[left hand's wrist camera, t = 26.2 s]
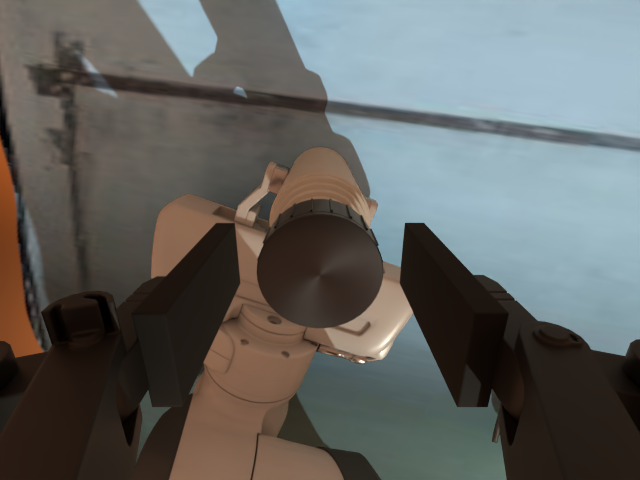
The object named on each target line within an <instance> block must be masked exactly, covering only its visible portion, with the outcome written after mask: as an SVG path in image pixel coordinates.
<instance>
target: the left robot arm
mask: <svg viewBox="0 0 640 480" xmlns="http://www.w3.org/2000/svg"><path fill="white" fill-rule="evenodd" d="M239 285H240V272H239V262H238V251H237V240H236V229H235V223H216V224H215V225H214V226H213V227H212V228H211V229H210V230H209V231H208V232H207V233H206V234H205V235H204V236H203V237H202V238H201V240H200V241H199V242H198V243H197V244H196V245H195V246H194V247H193V248H192V249H191V250H190V251H189V252H188V253H187V254H186V255H185V257H184V258H183V259H182V260H181V261H180V262H179V263H178V264H177V265H176V266H175V267H174V268H173V269H172V270H171V271H170V272H169V273H168V275H167V276H156V277H155V278H153V279H151V280H149V281H147V282H145V283H143V284H142V285H141V286H140V287H139V288H138V289H137V290H136V291H135V292H134V294H132V295H131V296H129V297H128V298H127V299H126V302H123V303H122V304H121V305H120V306H119V307H118V308H117V309H116V306H115V302H114V298H113V295H111V294H109V293H108V292H102V291H92V292H84V293H79V294H74V295H71V296H68V297H65V298H63V299H60V300H58V301H56V302H54V303H52V304H50V305H48V306H47V307H46V308H45V309H44V310H43V311H42V312H41V313H42V316H43V319H44V322H45V325H46V328H47V331H48V334H49V337H50V340H51V343H52V346H51V348H50V349H49V351H48V352H43V353H38V354H33V355H28V356H23V357H17V358H15V356H14V353H13V351H12V348H11V346H10V344H8V343H6V342H5V341H0V480H133V478H134V471H135V464H136V458H137V451H138V444H139V438H140V431H141V424H142V413H141V408H140V404H139V403H140V402H141V400H142V399H143V397H144V395H145V394H146V392H147V391H148V390H149V394H150V398H151V403H152V407H183V405H184V403H185V401H186V399H187V397H188V395H189V392H190V390H191V388H192V386H193V384H194V382H195V380H196V377H197V375H198V373H199V371H200V369H201V367H202V365H203V362H204V360H205V358H206V356H207V354H208V352H209V350H210V347H211V345H212V343H213V341H214V339H215V337H216V335H217V332H218V330H219V328H220V326H221V324H222V322H223V320H224V317H225V315H226V313H227V311H228V309H229V307H230V305H231V302H232V300H233V298H234V296H235V294H236V292H237V290H238V287H239ZM400 285H401V287H402V290H403V292H404V294H405V296H406V298H407V300H408V302H409V305H410V307H411V309H412V311H413V313H414V315H415V317H416V320H417V322H418V324H419V326H420V328H421V330H422V332H423V335H424V337H425V339H426V341H427V343H428V345H429V347H430V350H431V352H432V354H433V356H434V358H435V360H436V362H437V365H438V367H439V369H440V371H441V373H442V375H443V377H444V380H445V382H446V384H447V386H448V388H449V390H450V392H451V395H452V397H453V399H454V401H455V403H456V405H457V407H488V403H489V398H490V394H491V390H492V389H493V390H494V392H495V394H496V395H497V397H498V398H499V400H500V402H501V404H500V408H499V412H498V416H497V420H496V424H495V428H494V432H493V438H492V442H495V443H497V441H498V437H499V435H500V437H501V443H502V450H503V457H504V463H505V470H506V477H507V480H640V339H639V340H635V341H633V342H631V343H630V346H629V348H628V351H627V353H626V356H621V355H616V354H611V353H605V352H600V351H595V350H591V349H590V347H589V345H588V344H587V343H586V342H585V341H584V340H583V338H582V337H580V336H579V335H577V334H576V333H574V332H572V331H571V330H569V329H566V328H564V327H562V326H559V325H556V324H552V323H548V322H542V321H537V320H536V319H535V318H534V317H533V316H532V315H531V314H530V313H529V312H528V311H527V310H526V309H525V308H524V307H523V306H522V305H520V304H519V303H518V302H517V301H515V300H514V298H513V297H512V296H511V295H510V294H509V293H507V291H506V290H505V289H504V288H503V287H502V286H501V285H500V284H499V283H497V282H495V281H494V280H492V279H490V278H488V277H486V276H484V275H472V273H471V272H470V271H469V270H468V269H467V268H466V267H465V266H464V265H463V264H462V263H461V262H460V261H459V260H458V259H457V258H456V257H455V255H454V254H453V253H452V252H451V251H450V250H449V249H448V248H447V247H446V246H445V245H444V244H443V243H442V242H441V241H440V240H439V238H438V237H437V236H436V235H435V234H434V233H433V232H432V231H431V230H430V229H429V228H428V227H427V226H426V225H425V224H424V223H405V229H404V240H403V251H402V262H401V272H400Z"/></svg>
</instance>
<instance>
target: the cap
mask: <svg viewBox="0 0 640 480" xmlns="http://www.w3.org/2000/svg"><path fill="white" fill-rule="evenodd" d="M377 246H378V242H377V240H376V238H375V236H374V233H373V231H372V229H370V228H369V226H368V225H367V223H366V222H365V220H364V218H363V216H362V215H361V216H360V215H359V214H358V213H357V212H356V211H355V210H353V209H352V208H351V207H349V205H348V204H347V205H345V204H343V203H340V202H338V201H333V200H332V199H329V200H328V199H313V198H311V200H306V201H303V202H300V203H297V204H295V203H294V204H293V206H291V207H290V208H288V209H287V210H285V211H284V212H283V213H282V214H281V213H280V214H279V215H278V218H277V219H276V220H275V222H274V223H273V225H272V227H269V229H268V231H267V234H266V236H265V238H264V240H263V247H262V249H261V252H260V254H259V256H258V259H257V261H258V262H257V280H258V284H259V288H260V290H261V293H262V295H263V297H264V298H265V300H266V302H267V303H268V304H269V306H270V307H271V308H272V309H273V310H274V311H275V312H276V313H278V314H279V315H280V316H281V317H283V318H285V319H286V320H288V321H290V322H292V323H295V324H297V325H301V326H304V327H309V328H330V327H336V326H340V325H343V324H345V323H348V322H350V321H352V320H354V319H355V318H357V317H358V316H360V315H361V314H362V313H364V312H365V311H366V310H367V309H368V308H369V307H370V306H371V304H372V303H373V302H374V300H375V299H376V297H377V295H378V293H379V291H380V288H381V285H382V280H383V260H382V257H381V254H380V252H379V249H378V247H377Z"/></svg>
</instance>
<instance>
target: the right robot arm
mask: <svg viewBox="0 0 640 480" xmlns="http://www.w3.org/2000/svg"><path fill="white" fill-rule="evenodd" d="M289 170H290V168H287V167H285V166H282V165H280V164H277V163H274V162H270V163H269V164H268V166H267V169H266V172H265V175H264V178H263V181H262V184H261V185H260V186H259V187H257V188H256V189H255V190H254V191H253V192H252V193H250V194H249V195H248V196H247V197H246V198H245V199H244V200H243V201H242V202H241V203H240V204H239V205H238V208H237V210H235V209H232V208H230V207H227V206H224V205H221V204H218V203H215V202H212V201H209V200H207V199H204V198H201V197H198V196H195V195H192V194H185V195H183V196H181V197H179V198H177V199H175V200H173V201H171V202H170V203H168V204H167V205H166V206H164V207H163V208H162V210H161V211H160V213H159V215H158V219H157V223H156V228H155V233H154V240H153V248H152V261H151V278H152V279H153V278H155V277H156V276H167V275H168V273H169V272H170V271H171V270H172V269H173V268H174V267H175V266H176V265H177V264H178V263H179V262H180V261H181V260H182V259H183V258H184V257H185V255H186V254H187V253H188V252H189V251H190V250H191V249H192V248H193V247H194V246H195V245H196V244H197V243H198V242H199V241H200V240H201V238H202V237H203V236H204V235H205V234H206V233H207V232H208V231H209V230H210V229H211V228H212V227H213V226H214V225H215V224H216V223H235V229H236V240H237V251H238V262H239V272H240V285H239V287H238V290H237V292H236V294H235V296H234V298H233V300H232V302H231V305H230V307H229V309H228V311H227V313H226V315H225V317H224V320H223V322H222V324H221V326H220V328H219V330H218V332H217V335H216V337H215V339H214V341H213V343H212V345H211V347H210V350H209V352H208V354H207V356H206V358H205V360H204V362H203V363H204V372H203V373H202V374H201V375H200V377H199V378H198V380H197V382H196V384H195V387H194V389H193V393H192V394H190V395H188V397H187V399H186V401H185V403H184V405H183V407H171V408H170V409H169V410H168V411H166V412H165V413H164V414H163V415H162V416H161V418H160V419H159V420H158V422H157V423H156V425H155V426H154V428H153V429H152V431H151V433H150V435H149V437H148V438H147V440H146V442H145V444H144V447H143V449H142V451H141V453H140V456H139V458H138V461H137V463H136V466H135V471H134V478H133V480H381V479H380V478H379V476H378V474H377V473H376V471H375V470H374V469H373V467H372V466H371V465H370V463H369V462H368V461H367V459H366V458H365V457H364V456H363V455H361V454H360V453H357V452H350V451H344V450H337V449H330V448H324V447H316V448H315V447H311V446H307V445H304V444H300V443H296V442H292V441H288V440H284V439H281V438H277V436H278V434H279V432H280V429H281V427H282V425H283V423H284V421H285V418H286V416H287V412H288V405H289V400H290V399H291V398H292V397H293V396H294V395H295V393H296V392H297V391H298V389H299V387H300V385H301V383H302V381H303V379H304V377H305V374H306V372H307V370H308V368H309V365H310V363H311V361H312V359H313V357H314V354H315V352H316V351H318V352H321V353H324V354H328V355H331V356H335V357H341V358H345V359H348V360H350V361H351V362H354V363H358V364H365V363H366V361H369V362H371V361H376V360H381V359H383V358H384V357H385V356H386V355H387V353H388V352H389V350H390V348H391V346H392V344H393V342H394V339H395V338H396V336H397V335H398V334H399V333H400V331H401V330H402V329H403V327H404V326H405V325H406V323H407V322H408V320H409V319H410V317H411V316H412V314H413V311H412V309H411V307H410V305H409V302H408V300H407V298H406V296H405V294H404V292H403V290H402V287H401V285H400V272H401V267H398V266H395V265H393V264H390V263H387V262H384V261H383V280H382V285H381V288H380V291H379V293H378V295H377V297H376V299H375V300H374V302H373V303H372V304H371V306H370V307H369V308H368V309H367V310H366V311H365V312H364V313H362V314H361V315H360V316H358V317H357V318H355V319H354V320H352V321H350V322H348V323H345V324H343V325H340V326H336V327H330V328H309V327H304V326H301V325H297V324H295V323H292V322H290V321H288V320H286V319H285V318H283V317H281V316H280V315H279V314H278V313H276V312H275V311H274V310H273V309H272V308H271V307H270V306H269V304H268V303H267V302H266V300H265V298H264V297H263V295H262V293H261V290H260V288H259V284H258V280H257V262H258V261H257V259H258V256H259V254H260V252H261V249H262V247H263V240H264V238H265V236H266V234H267V231H268V229H269V227H270V222H269V221H267V220H264V219H261V218H258V215H259V212H260V208H261V206H260V205H259V204H256V203H257V202H258V201H259V200H260V199H262V198H263V197H264V196H265V195H266V194H267V193H268V192H272V193H275V194H278V192H279V190H280V188H281V187H282V185H283V183H284V181H285V179H286V177H287V175H288V173H289ZM364 198H365V200H366V202H367V205H368V207H369V211H370V219H371V221H372V219H373V216H374V214H375V212H376V210H377V206H378V203H377V202H376V200H374V199H371V198H368V197H366V196H364ZM367 356H368V357H367Z"/></svg>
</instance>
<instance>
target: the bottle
mask: <svg viewBox="0 0 640 480" xmlns="http://www.w3.org/2000/svg"><path fill="white" fill-rule="evenodd" d="M311 198H313V199H328V200H329V199H332V200H333V201H338V202H340V203H343V204H345V205H347V204H348V205H349V207H351V208H352V209H353V210H355V211H356V212H357V213H358V214H359V215H360V216H361V215H362V216H363V218H364V220H365V222H366V223H367V225H368V226H369V228H370V223H371V219H370V211H369V207H368V205H367V202H366V200H365V198H364V196H363V194H362V192H361V190H360V188H359V187H358V185H357V183H356V181H355V179H354V177H353V175H352V173H351V171H350V169H349V167H348V166H347V164H346V162H345V160H344V159H343V157H342V156H341V155H340V154H338V153H337V152H335V151H334V150H332V149H329V148H325V147H315V148H311V149H308V150H306V151H305V152H303V153H302V154H300V155H299V156H298V157H297V159H296V160H295V162H294V164H293V166H292V167H291V169H290V171H289V173H288V175H287V177H286V179H285V181H284V183H283V185H282V187H281V188H280V190H279V192H278V194H277V196H276V198H275V200H274V202H273V205H272V207H271V211H270V219H269V222H270V227H272V225H273V223H274V222H275V220H276V219H277V218H278V215H279V214H280V213H281V214H282V213H283V212H284V211H285V210H287V209H288V208H290V207H291V206H293V204H294V203H295V204H297V203H300V202H303V201H306V200H311Z"/></svg>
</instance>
